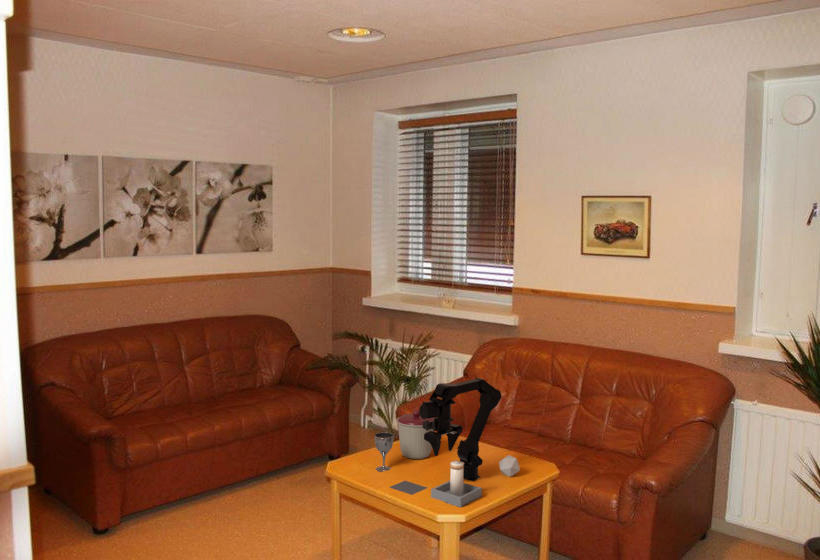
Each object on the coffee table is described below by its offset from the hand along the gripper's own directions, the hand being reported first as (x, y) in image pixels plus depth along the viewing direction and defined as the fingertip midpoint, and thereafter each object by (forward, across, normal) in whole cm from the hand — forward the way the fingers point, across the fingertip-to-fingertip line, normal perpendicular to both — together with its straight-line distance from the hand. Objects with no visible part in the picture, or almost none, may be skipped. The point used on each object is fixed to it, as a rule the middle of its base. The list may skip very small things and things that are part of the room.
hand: (443, 453), depth 295 cm
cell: (+12, +7, +12) cm, 19 cm away
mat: (+13, +12, -8) cm, 19 cm away
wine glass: (+13, +2, -30) cm, 33 cm away
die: (+13, -28, +14) cm, 34 cm away
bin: (+13, +7, +12) cm, 19 cm away
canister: (+13, -21, -31) cm, 40 cm away
